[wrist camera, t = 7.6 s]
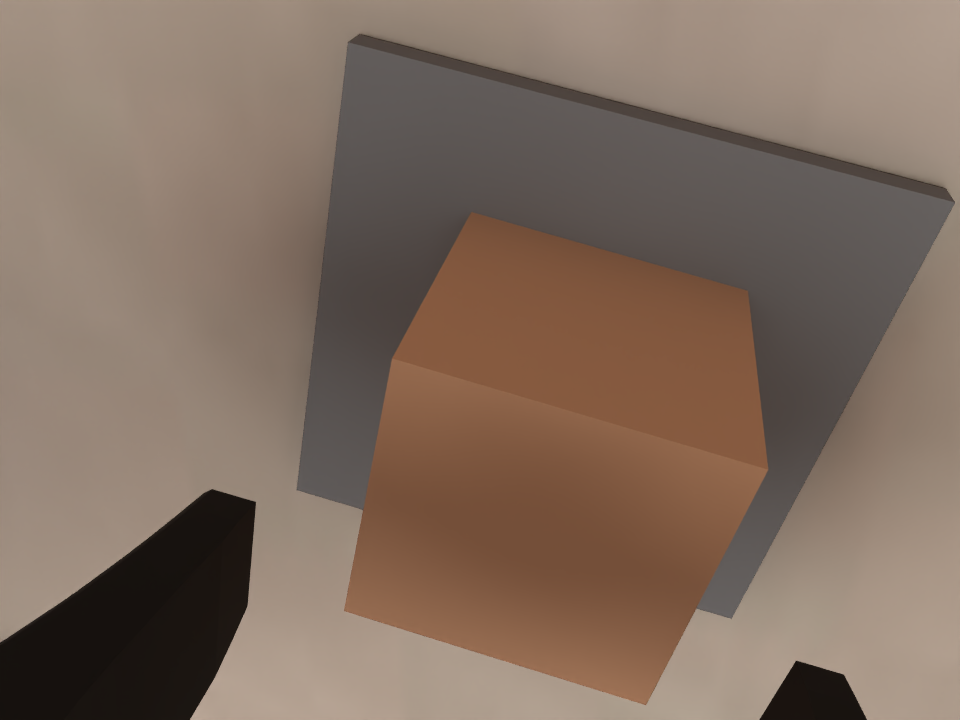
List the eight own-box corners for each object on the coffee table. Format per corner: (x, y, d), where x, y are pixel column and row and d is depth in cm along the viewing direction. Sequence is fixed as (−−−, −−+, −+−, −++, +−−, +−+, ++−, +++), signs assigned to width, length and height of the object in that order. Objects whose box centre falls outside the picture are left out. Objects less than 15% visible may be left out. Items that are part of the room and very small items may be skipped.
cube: (422, 429, 19) (343, 611, 14) (471, 211, 16) (391, 358, 12) (656, 499, 18) (645, 705, 14) (747, 291, 16) (768, 469, 11)
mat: (306, 473, 21) (296, 489, 20) (359, 34, 15) (348, 42, 15) (730, 598, 20) (731, 618, 20) (946, 188, 15) (955, 201, 14)
